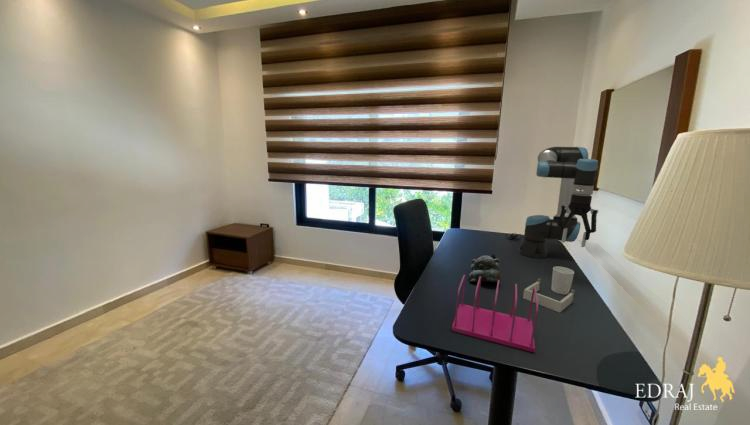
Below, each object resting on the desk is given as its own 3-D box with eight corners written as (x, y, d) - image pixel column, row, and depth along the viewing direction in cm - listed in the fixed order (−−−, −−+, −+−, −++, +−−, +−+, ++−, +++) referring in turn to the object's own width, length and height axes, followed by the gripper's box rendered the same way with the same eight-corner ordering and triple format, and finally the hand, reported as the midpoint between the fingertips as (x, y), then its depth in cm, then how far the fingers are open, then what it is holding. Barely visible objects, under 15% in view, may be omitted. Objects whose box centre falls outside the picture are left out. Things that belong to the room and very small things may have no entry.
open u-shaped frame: (537, 289, 132) (538, 278, 131) (572, 302, 122) (574, 290, 120) (522, 298, 124) (524, 286, 123) (559, 312, 113) (562, 300, 112)
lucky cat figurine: (462, 280, 138) (464, 251, 142) (475, 284, 146) (476, 256, 150) (493, 282, 127) (494, 250, 131) (506, 286, 135) (506, 255, 139)
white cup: (573, 296, 126) (577, 274, 124) (553, 294, 128) (557, 272, 126) (566, 288, 134) (569, 267, 132) (547, 286, 135) (550, 265, 133)
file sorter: (534, 353, 90) (541, 307, 87) (451, 331, 100) (455, 288, 97) (531, 324, 106) (537, 283, 102) (459, 307, 116) (463, 269, 112)
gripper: (553, 192, 136) (546, 240, 141) (607, 198, 121) (596, 251, 125) (559, 191, 140) (552, 237, 145) (612, 197, 125) (602, 248, 130)
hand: (573, 244), depth 135 cm, fingers open, 7 cm apart
